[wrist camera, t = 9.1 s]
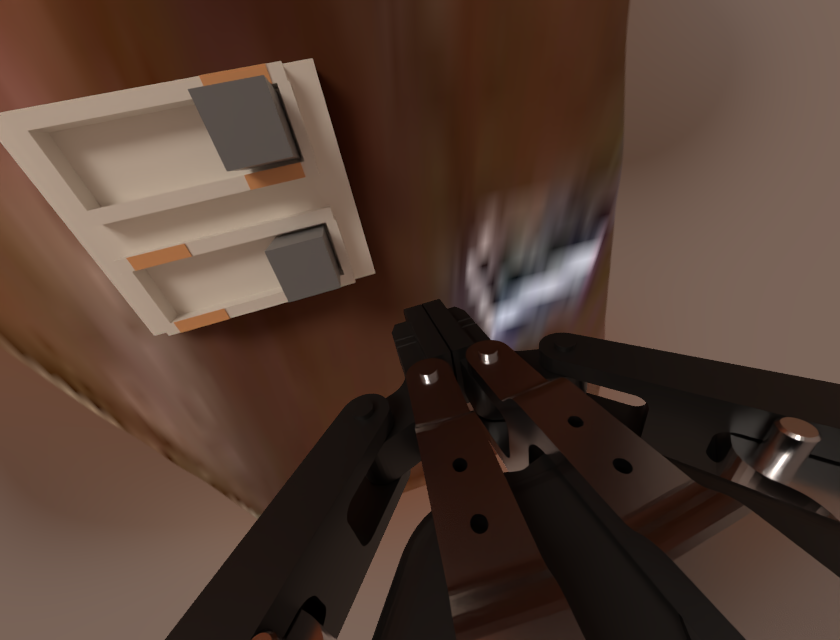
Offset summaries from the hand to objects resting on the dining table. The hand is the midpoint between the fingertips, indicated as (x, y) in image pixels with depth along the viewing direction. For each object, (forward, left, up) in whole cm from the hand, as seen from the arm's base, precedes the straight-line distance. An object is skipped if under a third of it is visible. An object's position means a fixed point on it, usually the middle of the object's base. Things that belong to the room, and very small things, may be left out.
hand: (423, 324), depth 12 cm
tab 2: (0, -6, -17) cm, 18 cm away
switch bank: (-5, -11, -19) cm, 22 cm away
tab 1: (-9, -6, -17) cm, 20 cm away
